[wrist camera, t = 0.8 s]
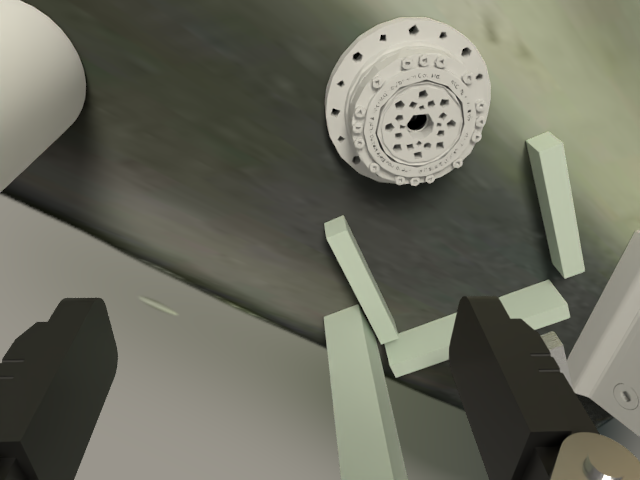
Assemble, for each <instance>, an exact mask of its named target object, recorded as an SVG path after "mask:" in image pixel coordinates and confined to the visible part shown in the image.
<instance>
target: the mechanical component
mask: <svg viewBox="0 0 640 480" xmlns="http://www.w3.org/2000/svg"><path fill="white" fill-rule="evenodd" d="M412 26H414V29H413V31H412V32H409V30H408V29H410V28H411V27H412ZM441 32H442V34H441ZM440 34H441V35H440ZM381 35H383V37H382V39H380V37H381ZM464 48H466V49H465V50H464V51H463V52H462V50H463V49H464ZM357 52H359V53H360V55H359V56H358V57H357V58H356V59H354V58H353V54H355V53H357ZM340 81H341V82H340ZM339 82H340V83H339ZM490 91H491V84H490V80H489V75H488V71H487V67H486V63H485V61H484V60H483V58H482V56H481V55H480V53H479V51H478V50H477V48H476V47H475V45H474V44H473V43H472V42H471V41H470V40H469V39H468V38H467V37H465V36H464V35H463V34H462V33H461V32H459V31H457V30H456V29H454V28H453V27H451V26H449V25H448V24H445V23H442V22H439V21H436V20H433V19H430V18H427V17H400V18H397V19H393V20H390V21H387V22H384V23H381V24H378V25H376V26H375V27H373V28H371V29H370V30H368V31H367V32H365V33H363V34H362V35H360V36H359V37H358V38H357V39H356V40H355V41H354V42H353V43H352V44H351V45H350V46H349V47H348V48H347V49H346V51H345V52H344V53H343V54H342V55H341V57H340V58H339V60H338V62H337V64H336V65H335V67H334V69H333V71H332V73H331V76H330V79H329V81H328V84H327V87H326V95H325V112H326V122H327V128H328V132H329V135H330V138H331V140H332V142H333V143H334V145H335V147H336V149H337V151H338V153H339V154H340V156H341V158H343V159H344V160H345V161H346V162H347V163H348V164H349V165H350V166H351V167H352V168H354V169H355V170H356V171H357V172H358V173H359V174H362V175H364V176H366V177H369V178H371V179H373V180H376V181H378V182H384V183H395V184H398V185H402V184H411V185H413V186H417V185H418V184H419V183H423V182H428V183H429V184H430V183H432V182H434V180H435V179H436V178H439V177H442V176H443V175H445V174H447V173H448V172H450V171H452V170H453V169H454V168H459V167H461V166H462V164H463V162H462V160H463V159H464V158H466V157H467V156H468V155H469V154H470V153H471V151H472V149H473V147H474V145H475V143H476V142H478V141H480V140H481V137H482V135H481V131H482V128H483V126H484V125H485V123H486V119H487V115H488V110H489V106H490ZM333 108H334V109H337V111H335V112H332V109H333ZM421 114H426V117H427V120H426V121H425V123H424V124H422V125H421V126H420V127H418V128H417V129H416V130H411V129H409V128H408V126H407V124H408V122H410V121H415V120H416V118H417V116H418V115H421ZM376 135H377V136H376ZM354 156H356V157H355V158H353V157H354Z"/></svg>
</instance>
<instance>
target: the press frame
mask: <svg viewBox="0 0 640 480" xmlns="http://www.w3.org/2000/svg"><path fill="white" fill-rule="evenodd" d="M526 144H527V149H528V153H529V158H530V163H531V167H532V172H533V177H534V181H535V186H536V191H537V195H538V200H539V204H540V209H541V214H542V218H543V223H544V228H545V232H546V237H547V242H548V246H549V251H550V256H551V260H552V264H553V265H554V266H555V267H556V269H557V270H558V271H559V272H560V274H561V275H562V276H563V277H564V279H565V278H568V277H571V276H574V275H576V274H579V273H582V272H585V269H584V263H583V257H582V251H581V245H580V239H579V233H578V228H577V222H576V216H575V210H574V204H573V198H572V192H571V187H570V181H569V175H568V169H567V163H566V157H565V151H564V146H563V142H562V141H560V140H559V139H558V138H556V137H555V136H554V135H553V134H551V133H550V132H549V131H548V132H545V133H543V134H540V135H538V136H535V137H533V138H531V139H528V140H526ZM324 226H325V233H326V239H327V241H328V243H329V245H330V247H331V248H332V250H333V252H334V254H335V256H336V258H337V260H338V262H339V264H340V266H341V268H342V270H343V272H344V274H345V275H346V277H347V279H348V281H349V283H350V285H351V287H352V289H353V291H354V293H355V295H356V297H357V299H358V301H359V303H360V304H361V306H362V308H363V310H364V312H365V314H366V316H367V318H368V320H369V322H370V324H371V326H372V328H373V330H374V331H375V333H376V335H377V337H378V339H379V341H380V343H381V344H385V348H386V352H387V357H388V361H389V365H390V367H391V369H392V371H393V373H394V375H395V377H396V378H397V377H399V376H402V375H405V374H408V373H411V372H414V371H417V370H420V369H423V368H426V367H428V366H431V365H434V364H437V363H440V362H443V361H446V360H449V345H450V340H451V336H452V332H453V327H454V323H455V319H456V314H457V313H454V314H451V315H449V316H446V317H443V318H440V319H438V320H435V321H432V322H429V323H426V324H424V325H421V326H418V327H415V328H413V329H410V330H407V331H404V332H401V333H399V334H398V332H397V329H396V325H395V322H394V319H393V317H392V315H391V313H390V311H389V309H388V307H387V305H386V303H385V300H384V298H383V296H382V294H381V292H380V290H379V288H378V286H377V284H376V282H375V280H374V278H373V275H372V273H371V271H370V269H369V267H368V265H367V263H366V261H365V259H364V257H363V255H362V252H361V250H360V248H359V246H358V244H357V242H356V240H355V238H354V236H353V234H352V232H351V229H350V227H349V225H348V223H347V221H346V219H345V217H344V215H343V216H341V217H338V218H336V219H333V220H331V221H328V222H326V223H324ZM499 299H500V301H501V302H502V304H503V306H504V308H505V310H506V311H507V313H508V315H509V317H510V319H514V318H521V319H522V320H523V321H525V322H526V323H527V324H528V325H529V326H530V327H532V328H533V329H534V330H536V329H539V328H542V327H544V326H547V325H550V324H553V323H556V322H559V321H562V320H565V319H568V318H570V314H569V309H568V305H567V303H566V301H565V300H564V299H563V297H562V296H561V295H560V293H559V292H558V291H557V290H556V288H555V287H554V286H553V284H552V283H551V282H550V280H546V281H543V282H540V283H537V284H535V285H532V286H529V287H526V288H524V289H521V290H518V291H515V292H512V293H510V294H507V295H504V296H501V297H499ZM324 325H325V334H326V344H327V353H328V362H329V372H330V381H331V390H332V400H333V409H334V418H335V428H336V438H337V447H338V457H339V466H340V475H341V480H408V478H407V473H406V469H405V464H404V460H403V456H402V451H401V447H400V442H399V438H398V434H397V430H396V425H395V420H394V416H393V412H392V407H391V403H390V398H389V395H388V389H387V385H386V381H385V376H384V372H383V367H382V363H381V359H380V354H379V350H378V345H377V341H376V337H375V335H374V333H373V331H372V329H371V327H370V325H369V324H368V322H367V320H366V318H365V316H364V314H363V312H362V310H361V308H360V306H359V304H357V305H354V306H352V307H349V308H346V309H344V310H341V311H338V312H336V313H333V314H330V315H328V316H325V317H324Z"/></svg>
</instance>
